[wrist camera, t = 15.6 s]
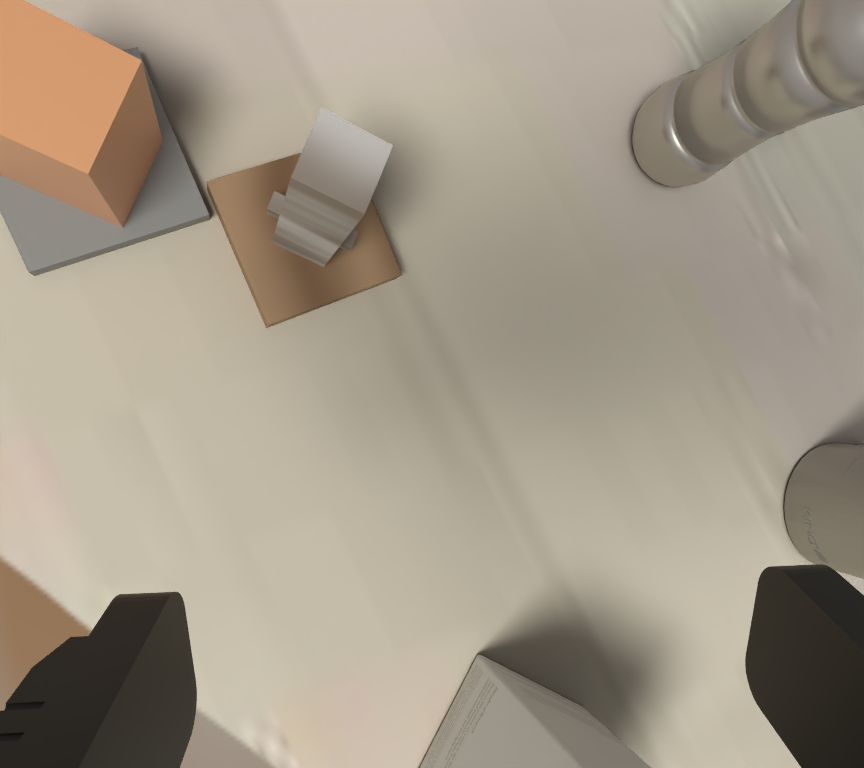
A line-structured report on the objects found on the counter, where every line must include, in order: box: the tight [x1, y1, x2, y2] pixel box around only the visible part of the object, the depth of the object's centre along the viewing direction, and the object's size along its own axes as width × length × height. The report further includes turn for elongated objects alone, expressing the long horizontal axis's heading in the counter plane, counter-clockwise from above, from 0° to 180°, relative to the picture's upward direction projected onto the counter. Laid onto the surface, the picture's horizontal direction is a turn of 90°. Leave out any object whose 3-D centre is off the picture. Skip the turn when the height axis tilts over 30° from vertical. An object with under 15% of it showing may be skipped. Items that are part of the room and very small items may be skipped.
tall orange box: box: [0, 0, 163, 228], centre depth 28 cm, size 5×6×8 cm
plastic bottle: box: [632, 0, 864, 187], centre depth 34 cm, size 6×7×20 cm
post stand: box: [207, 107, 402, 328], centre depth 30 cm, size 11×11×12 cm
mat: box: [0, 47, 210, 276], centre depth 32 cm, size 9×9×1 cm
